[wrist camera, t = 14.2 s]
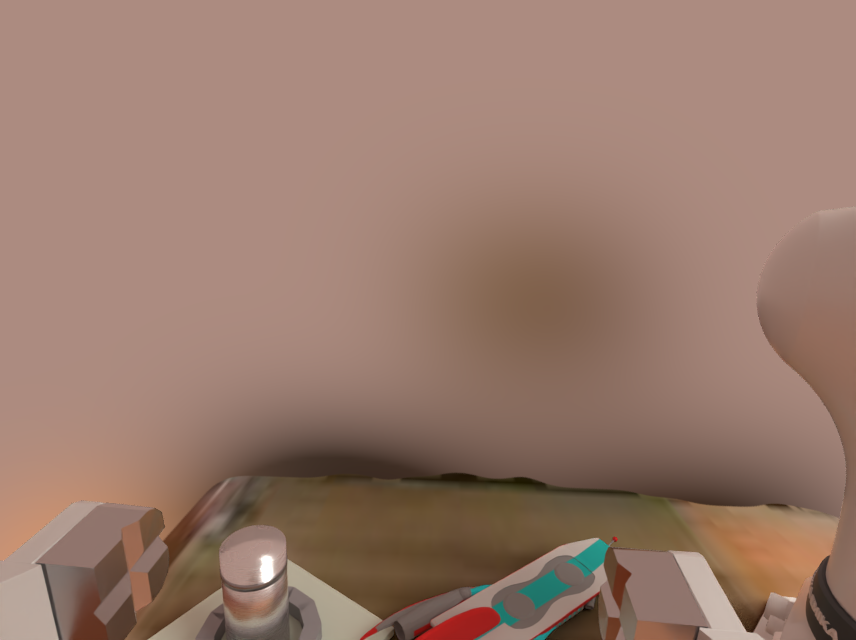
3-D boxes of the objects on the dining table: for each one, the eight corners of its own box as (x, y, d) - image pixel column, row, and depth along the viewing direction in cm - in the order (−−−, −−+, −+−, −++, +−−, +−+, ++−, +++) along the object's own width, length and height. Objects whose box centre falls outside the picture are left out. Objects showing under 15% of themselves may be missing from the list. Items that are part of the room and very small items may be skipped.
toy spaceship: (553, 532, 62) (562, 494, 61) (642, 597, 54) (655, 555, 53) (356, 645, 44) (362, 595, 43) (446, 767, 36) (457, 711, 35)
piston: (264, 611, 48) (259, 516, 45) (303, 640, 45) (299, 541, 42) (214, 650, 44) (204, 549, 41) (253, 685, 41) (245, 579, 38)
